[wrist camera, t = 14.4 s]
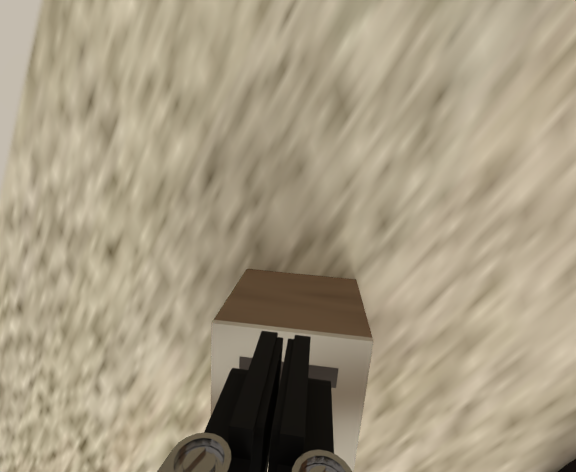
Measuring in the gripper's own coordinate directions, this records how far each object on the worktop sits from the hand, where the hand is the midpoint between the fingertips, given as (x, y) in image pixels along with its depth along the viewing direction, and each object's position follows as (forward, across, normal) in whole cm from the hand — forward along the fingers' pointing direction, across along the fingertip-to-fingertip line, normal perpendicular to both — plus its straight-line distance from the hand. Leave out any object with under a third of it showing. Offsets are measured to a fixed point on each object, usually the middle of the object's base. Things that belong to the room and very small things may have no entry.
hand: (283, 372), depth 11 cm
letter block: (+3, 0, +4) cm, 5 cm away
